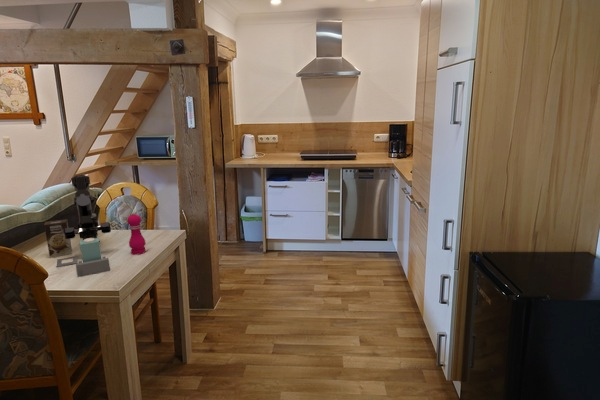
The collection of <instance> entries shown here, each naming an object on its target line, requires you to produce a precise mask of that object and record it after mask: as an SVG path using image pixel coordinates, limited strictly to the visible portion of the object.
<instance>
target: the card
mask: <svg viewBox="0 0 600 400" xmlns="http://www.w3.org/2000/svg"><path fill="white" fill-rule="evenodd" d="M77 263H79V261H78V255H76V256H75V255H74V256H70V257H69V256H68V257H64V258H58V259H57V260H56V268H63V267H68V266H73V265H76V264H77Z"/></svg>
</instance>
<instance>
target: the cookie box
mask: <svg viewBox="0 0 600 400" xmlns="http://www.w3.org/2000/svg"><path fill="white" fill-rule="evenodd" d="M43 224H44V232H45V237H46V243H47V248H48V255H49V258H50V259H53V258H57V257H62V256H69V255H73V254H72V253H73V248H72V247H73V246H72V241H71V239H66V238H65V235H64V229H65V228H69V223H68V218H67V219H59V220H58V219H57V220H51V221H45V222H44V223H43Z"/></svg>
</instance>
